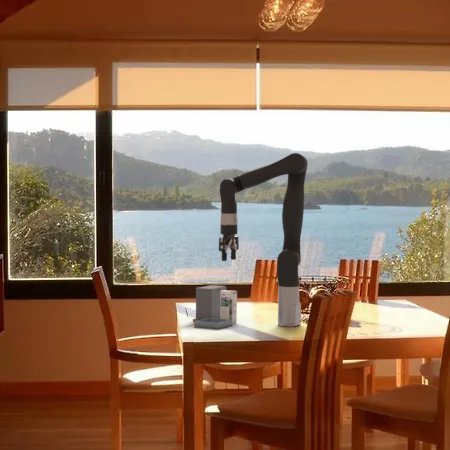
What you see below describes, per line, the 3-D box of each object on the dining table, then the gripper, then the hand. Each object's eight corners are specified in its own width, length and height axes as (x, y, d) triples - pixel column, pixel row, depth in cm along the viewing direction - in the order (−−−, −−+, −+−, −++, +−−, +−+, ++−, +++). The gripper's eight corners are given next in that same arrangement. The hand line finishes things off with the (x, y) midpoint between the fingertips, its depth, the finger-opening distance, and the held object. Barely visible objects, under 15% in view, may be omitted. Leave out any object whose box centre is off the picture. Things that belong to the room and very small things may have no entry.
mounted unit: (229, 318, 381) (229, 286, 380) (212, 323, 367) (212, 289, 366) (210, 316, 385) (210, 284, 385) (192, 321, 371) (192, 288, 371)
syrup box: (219, 323, 366) (219, 290, 366) (225, 321, 371) (226, 289, 371) (231, 324, 363) (231, 291, 363) (237, 322, 369) (237, 290, 368)
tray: (232, 325, 360) (232, 319, 360) (218, 329, 349) (218, 323, 349) (208, 323, 365) (208, 317, 365) (194, 327, 355) (194, 321, 355)
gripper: (229, 223, 374) (228, 259, 374) (213, 224, 361) (213, 261, 362) (243, 223, 370) (243, 259, 371) (228, 224, 358) (228, 261, 358)
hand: (228, 260), depth 366 cm, fingers open, 8 cm apart
